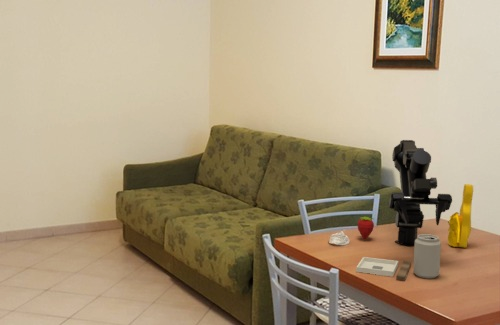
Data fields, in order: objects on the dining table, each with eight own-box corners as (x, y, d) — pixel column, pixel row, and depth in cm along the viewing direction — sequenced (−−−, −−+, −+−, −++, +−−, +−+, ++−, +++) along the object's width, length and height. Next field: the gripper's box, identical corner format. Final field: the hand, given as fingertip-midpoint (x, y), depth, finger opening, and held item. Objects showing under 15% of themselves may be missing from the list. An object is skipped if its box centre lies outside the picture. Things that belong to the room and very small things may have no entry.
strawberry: (371, 236, 215) (372, 210, 214) (375, 242, 208) (376, 215, 207) (355, 236, 216) (356, 210, 214) (358, 242, 208) (359, 214, 207)
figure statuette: (442, 238, 214) (446, 179, 211) (465, 239, 212) (468, 180, 209) (451, 252, 196) (454, 188, 193) (475, 253, 195) (479, 189, 192)
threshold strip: (403, 264, 184) (403, 260, 184) (411, 265, 183) (411, 261, 183) (396, 280, 169) (396, 276, 169) (404, 281, 168) (404, 277, 168)
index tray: (363, 261, 186) (363, 256, 186) (398, 265, 182) (398, 261, 182) (356, 272, 176) (356, 266, 176) (393, 276, 172) (393, 271, 172)
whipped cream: (338, 250, 202) (339, 237, 201) (323, 244, 206) (324, 232, 205) (351, 244, 207) (352, 231, 206) (336, 238, 212) (337, 226, 211)
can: (440, 280, 169) (442, 240, 167) (414, 278, 171) (416, 238, 169) (437, 271, 176) (439, 233, 175) (412, 270, 178) (414, 232, 176)
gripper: (391, 167, 183) (395, 209, 174) (452, 168, 181) (459, 211, 172) (387, 187, 192) (390, 228, 183) (445, 189, 190) (451, 230, 181)
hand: (422, 224), depth 179 cm, fingers open, 9 cm apart
